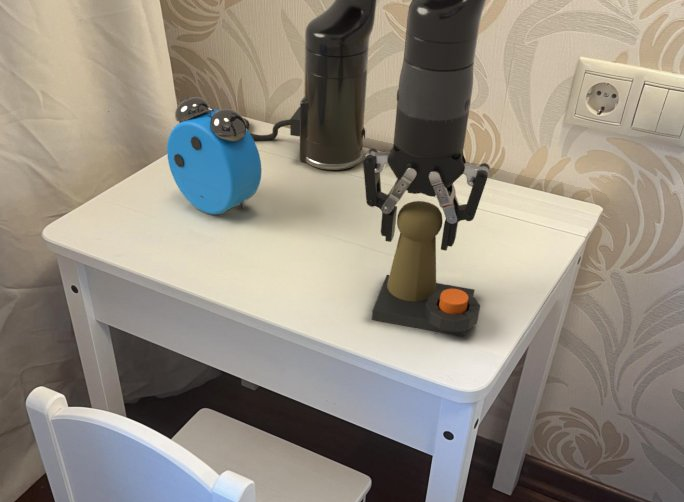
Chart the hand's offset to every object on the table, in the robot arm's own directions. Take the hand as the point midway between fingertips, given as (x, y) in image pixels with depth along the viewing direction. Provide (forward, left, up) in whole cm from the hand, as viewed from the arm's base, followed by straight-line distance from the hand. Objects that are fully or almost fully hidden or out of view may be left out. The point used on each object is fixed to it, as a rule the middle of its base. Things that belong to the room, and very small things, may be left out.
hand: (416, 242), depth 97 cm
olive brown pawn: (0, 0, -7) cm, 7 cm away
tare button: (+6, -4, -5) cm, 9 cm away
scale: (+2, -2, -8) cm, 8 cm away
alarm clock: (-31, +14, -8) cm, 35 cm away
